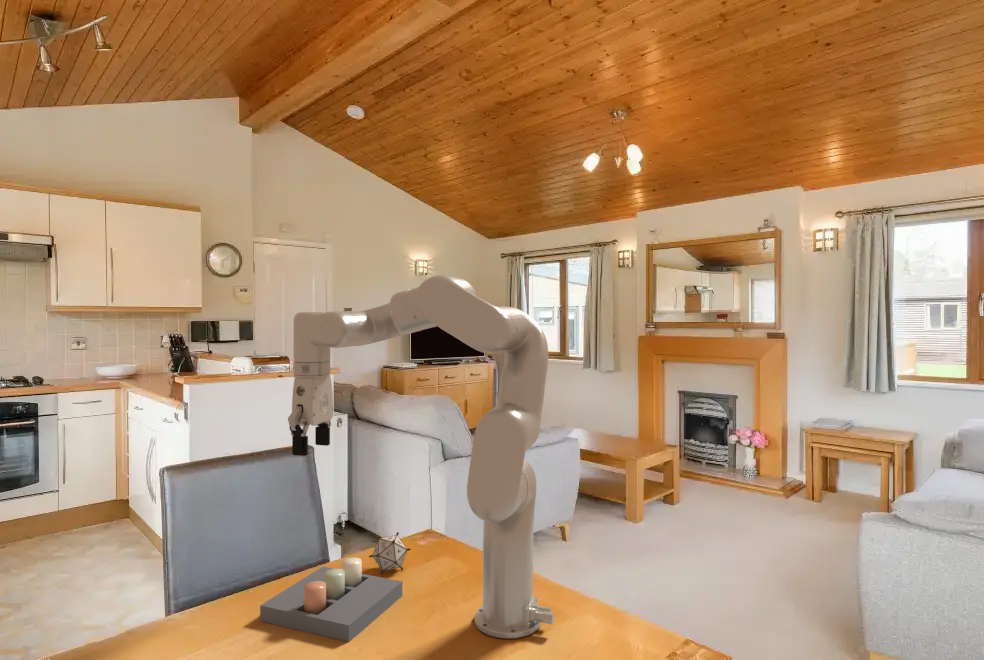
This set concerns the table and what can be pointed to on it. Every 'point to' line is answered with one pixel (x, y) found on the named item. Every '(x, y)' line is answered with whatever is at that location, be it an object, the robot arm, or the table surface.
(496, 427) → the robot arm
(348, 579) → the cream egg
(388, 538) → the game die
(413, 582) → the table surface
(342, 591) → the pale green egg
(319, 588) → the pink egg
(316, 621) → the panel
